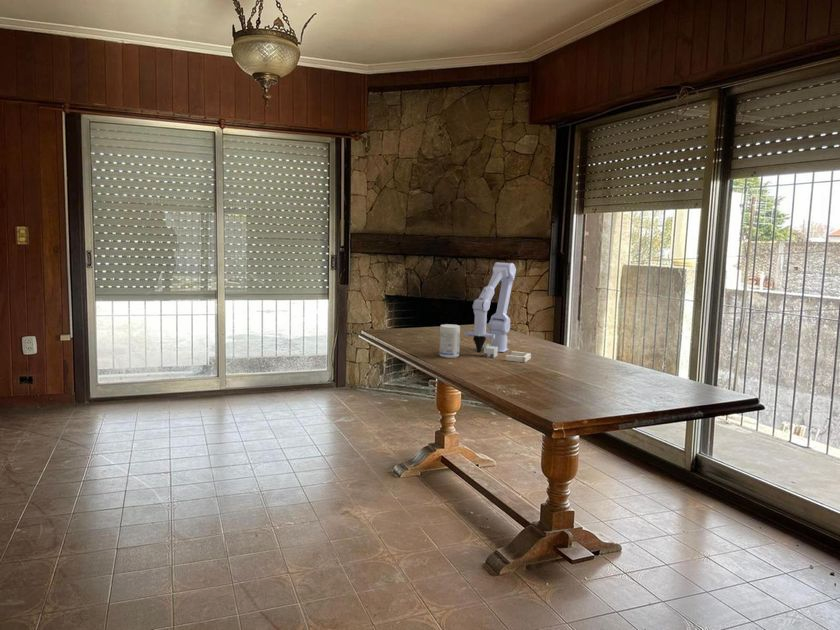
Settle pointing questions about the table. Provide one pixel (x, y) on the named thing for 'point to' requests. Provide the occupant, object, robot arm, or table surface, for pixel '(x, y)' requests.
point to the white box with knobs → (490, 351)
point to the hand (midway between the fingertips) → (479, 352)
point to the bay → (518, 356)
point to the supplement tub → (449, 340)
